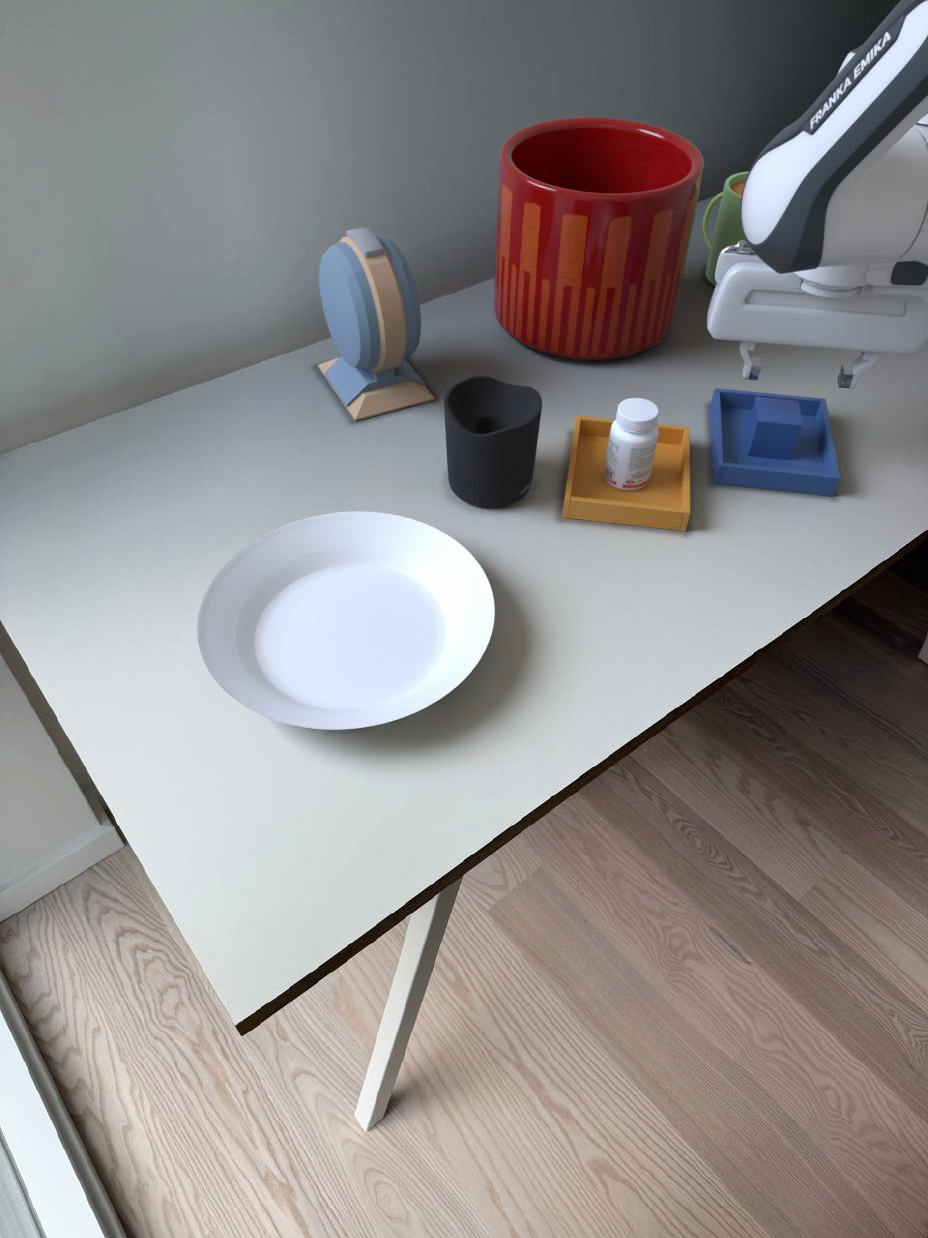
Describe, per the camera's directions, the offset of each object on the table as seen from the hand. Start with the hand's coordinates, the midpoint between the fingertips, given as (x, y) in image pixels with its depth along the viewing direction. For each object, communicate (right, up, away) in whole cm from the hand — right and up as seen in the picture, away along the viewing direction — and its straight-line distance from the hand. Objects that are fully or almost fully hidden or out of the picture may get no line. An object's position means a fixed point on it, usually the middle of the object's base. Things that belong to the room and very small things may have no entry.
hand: (797, 380), depth 91 cm
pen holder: (-31, -10, +2) cm, 33 cm away
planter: (-19, +15, +25) cm, 34 cm away
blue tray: (-1, -6, +6) cm, 9 cm away
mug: (+4, +24, +33) cm, 41 cm away
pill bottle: (-17, -10, +2) cm, 20 cm away
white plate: (-44, -26, -12) cm, 52 cm away
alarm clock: (-44, +4, +15) cm, 47 cm away
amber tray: (-17, -10, +3) cm, 20 cm away
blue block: (-1, -5, +6) cm, 8 cm away
